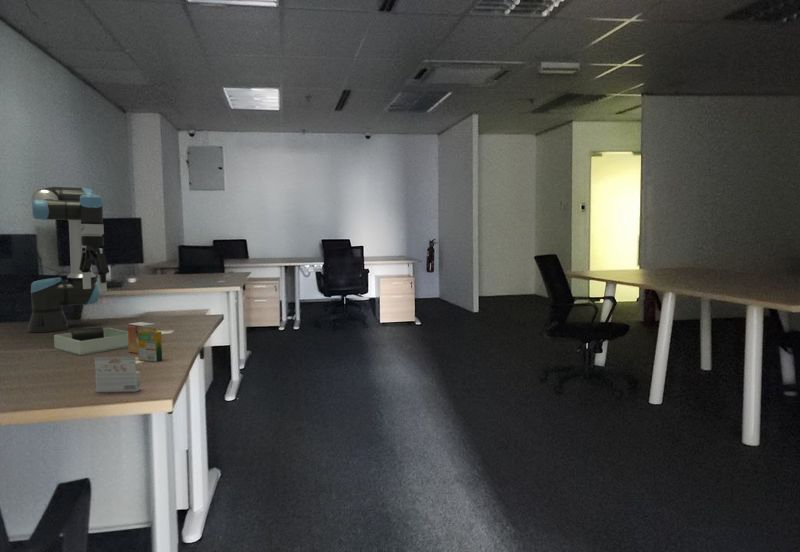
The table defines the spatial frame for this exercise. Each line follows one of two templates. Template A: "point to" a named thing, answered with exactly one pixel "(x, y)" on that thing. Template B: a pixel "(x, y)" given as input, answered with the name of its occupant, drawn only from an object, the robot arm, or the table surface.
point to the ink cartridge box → (116, 374)
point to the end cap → (87, 334)
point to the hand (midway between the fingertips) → (94, 290)
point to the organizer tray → (92, 342)
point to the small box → (136, 334)
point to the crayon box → (149, 344)
